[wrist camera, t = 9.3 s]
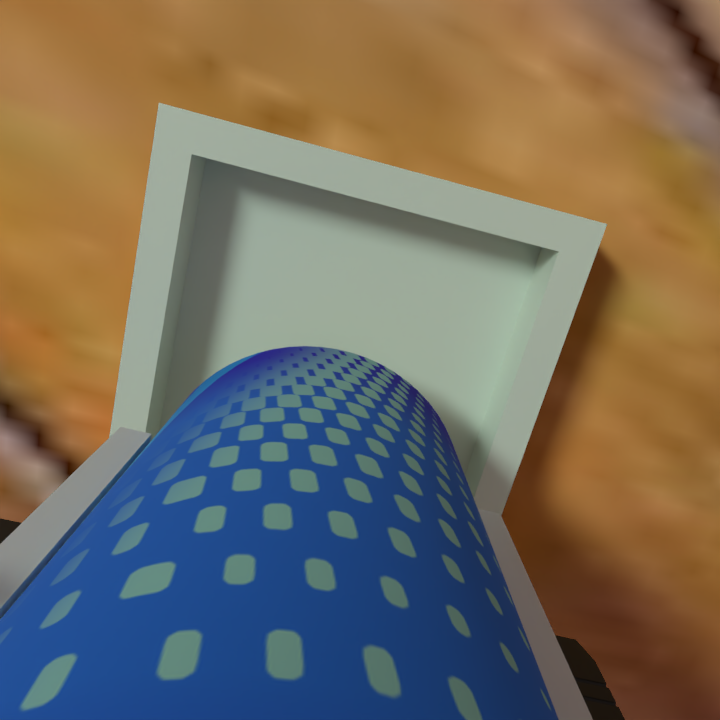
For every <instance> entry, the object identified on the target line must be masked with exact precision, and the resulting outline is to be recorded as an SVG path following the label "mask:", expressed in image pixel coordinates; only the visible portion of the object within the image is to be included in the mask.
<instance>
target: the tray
mask: <svg viewBox="0 0 720 720" xmlns="http://www.w3.org/2000/svg"><path fill="white" fill-rule="evenodd" d="M606 226H607V224H605V223H601V222H597V221H594V220H590V219H586V218H583V217H579V216H575V215H571V214H568V213H564V212H560V211H557V210H553V209H549V208H546V207H542V206H538V205H535V204H531V203H527V202H523V201H520V200H516V199H512V198H509V197H505V196H501V195H498V194H494V193H490V192H487V191H483V190H479V189H475V188H472V187H468V186H464V185H461V184H457V183H453V182H450V181H446V180H442V179H439V178H435V177H431V176H427V175H424V174H420V173H416V172H413V171H409V170H405V169H402V168H398V167H394V166H391V165H387V164H383V163H380V162H376V161H372V160H368V159H365V158H361V157H357V156H354V155H350V154H346V153H343V152H339V151H335V150H332V149H328V148H324V147H320V146H317V145H313V144H309V143H306V142H302V141H298V140H295V139H291V138H287V137H284V136H280V135H276V134H272V133H269V132H265V131H261V130H258V129H254V128H250V127H247V126H243V125H239V124H236V123H232V122H228V121H224V120H221V119H217V118H213V117H210V116H206V115H202V114H199V113H195V112H191V111H188V110H184V109H180V108H176V107H173V106H169V105H165V104H162V103H159V106H158V113H157V120H156V126H155V133H154V140H153V147H152V153H151V160H150V167H149V174H148V180H147V187H146V194H145V201H144V207H143V214H142V221H141V228H140V234H139V241H138V248H137V255H136V261H135V268H134V275H133V281H132V288H131V295H130V302H129V308H128V315H127V322H126V329H125V335H124V342H123V349H122V356H121V362H120V369H119V376H118V383H117V389H116V396H115V403H114V410H113V416H112V423H111V430H110V437H111V436H112V435H113V434H114V433H115V432H116V431H117V430H118V429H119V428H120V427H124V428H128V429H132V430H137V431H141V432H145V433H150V434H151V440H152V439H153V438H154V437H155V436H156V434H157V433H158V432H159V431H160V430H161V428H162V427H163V426H164V425H165V424H166V422H167V421H168V420H169V419H170V418H171V417H172V415H173V414H174V413H175V412H176V411H177V409H178V408H179V407H180V406H181V405H182V404H183V402H184V401H185V400H186V399H187V398H188V397H189V395H190V394H191V393H192V392H193V391H194V390H195V389H196V388H197V387H198V386H199V385H201V384H202V383H203V382H204V381H205V380H206V379H208V378H209V377H210V376H212V375H213V374H215V373H216V372H218V371H219V370H221V369H223V368H224V367H226V366H228V365H229V364H232V363H234V362H236V361H238V360H240V359H242V358H245V357H248V356H250V355H253V354H256V353H259V352H263V351H267V350H271V349H277V348H284V347H293V346H317V347H327V348H334V349H339V350H343V351H347V352H351V353H355V354H357V355H360V356H363V357H366V358H368V359H371V360H373V361H375V362H377V363H379V364H381V365H383V366H385V367H387V368H388V369H390V370H392V371H394V372H395V373H396V374H398V375H399V376H401V377H402V378H403V379H405V380H406V381H407V382H409V383H410V384H411V385H412V386H413V387H414V388H415V389H417V390H418V391H419V392H420V393H421V394H422V396H423V397H424V398H425V399H426V400H427V401H428V402H429V403H430V405H431V406H432V407H433V409H434V410H435V411H436V413H437V414H438V416H439V417H440V419H441V421H442V422H443V424H444V426H445V427H446V430H447V432H448V434H449V436H450V438H451V441H452V443H453V446H454V448H455V451H456V454H457V456H458V459H459V461H460V464H461V467H462V469H463V472H464V474H465V477H466V480H467V482H468V485H469V487H470V490H471V493H472V495H473V498H474V500H475V503H476V506H477V508H478V509H482V510H487V511H491V512H495V513H500V514H501V515H502V512H503V510H504V507H505V504H506V501H507V499H508V496H509V493H510V490H511V488H512V485H513V482H514V479H515V477H516V474H517V471H518V468H519V466H520V463H521V460H522V457H523V454H524V452H525V449H526V446H527V443H528V441H529V438H530V435H531V432H532V430H533V427H534V424H535V421H536V419H537V416H538V413H539V410H540V408H541V405H542V402H543V399H544V397H545V394H546V391H547V388H548V386H549V383H550V380H551V377H552V374H553V372H554V369H555V366H556V363H557V361H558V358H559V355H560V352H561V350H562V347H563V344H564V341H565V339H566V336H567V333H568V330H569V328H570V325H571V322H572V319H573V317H574V314H575V311H576V308H577V306H578V303H579V300H580V297H581V295H582V292H583V289H584V286H585V283H586V281H587V278H588V275H589V272H590V270H591V267H592V264H593V261H594V259H595V256H596V253H597V250H598V248H599V245H600V242H601V239H602V237H603V234H604V231H605V228H606ZM110 437H109V438H110ZM151 440H150V441H151Z"/></svg>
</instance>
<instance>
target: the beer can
mask: <svg viewBox="0 0 720 720" xmlns="http://www.w3.org/2000/svg"><path fill="white" fill-rule="evenodd" d="M0 720H559V719H558V716H557V714H556V711H555V709H554V706H553V703H552V701H551V698H550V696H549V693H548V690H547V688H546V685H545V683H544V680H543V677H542V675H541V672H540V670H539V667H538V664H537V662H536V659H535V657H534V654H533V651H532V649H531V646H530V644H529V641H528V638H527V636H526V633H525V631H524V628H523V625H522V623H521V620H520V618H519V615H518V612H517V610H516V607H515V605H514V602H513V599H512V597H511V594H510V592H509V589H508V586H507V584H506V581H505V579H504V576H503V573H502V571H501V568H500V565H499V563H498V560H497V558H496V555H495V552H494V550H493V547H492V545H491V542H490V539H489V537H488V534H487V532H486V529H485V526H484V524H483V521H482V519H481V516H480V513H479V511H478V508H477V506H476V503H475V500H474V498H473V495H472V493H471V490H470V487H469V485H468V482H467V480H466V477H465V474H464V472H463V469H462V467H461V464H460V461H459V459H458V456H457V454H456V451H455V448H454V446H453V443H452V441H451V438H450V436H449V434H448V432H447V430H446V427H445V426H444V424H443V422H442V421H441V419H440V417H439V416H438V414H437V413H436V411H435V410H434V409H433V407H432V406H431V405H430V403H429V402H428V401H427V400H426V399H425V398H424V397H423V396H422V394H421V393H420V392H419V391H418V390H417V389H415V388H414V387H413V386H412V385H411V384H410V383H409V382H407V381H406V380H405V379H403V378H402V377H401V376H399V375H398V374H396V373H395V372H394V371H392V370H390V369H388V368H387V367H385V366H383V365H381V364H379V363H377V362H375V361H373V360H371V359H368V358H366V357H363V356H360V355H357V354H355V353H351V352H347V351H343V350H339V349H334V348H327V347H317V346H293V347H284V348H277V349H271V350H267V351H263V352H259V353H256V354H253V355H250V356H248V357H245V358H242V359H240V360H238V361H236V362H234V363H232V364H229V365H228V366H226V367H224V368H223V369H221V370H219V371H218V372H216V373H215V374H213V375H212V376H210V377H209V378H208V379H206V380H205V381H204V382H203V383H202V384H201V385H199V386H198V387H197V388H196V389H195V390H194V391H193V392H192V393H191V394H190V395H189V397H188V398H187V399H186V400H185V401H184V402H183V404H182V405H181V406H180V407H179V408H178V409H177V411H176V412H175V413H174V414H173V415H172V417H171V418H170V419H169V420H168V421H167V422H166V424H165V425H164V426H163V427H162V428H161V430H160V431H159V432H158V433H157V434H156V436H155V437H154V438H153V439H152V440H151V441H150V443H149V444H148V445H147V446H146V447H145V449H144V450H143V451H142V452H141V453H140V454H139V456H138V457H137V458H136V459H135V460H134V462H133V463H132V464H131V465H130V466H129V468H128V469H127V470H126V471H125V472H124V473H123V475H122V476H121V477H120V478H119V479H118V481H117V482H116V483H115V484H114V485H113V486H112V488H111V489H110V490H109V491H108V492H107V494H106V495H105V496H104V497H103V498H102V500H101V501H100V502H99V503H98V504H97V505H96V507H95V508H94V509H93V510H92V511H91V513H90V514H89V515H88V516H87V517H86V518H85V520H84V521H83V522H82V523H81V524H80V526H79V527H78V528H77V529H76V530H75V532H74V533H73V534H72V535H71V536H70V537H69V539H68V540H67V541H66V542H65V543H64V545H63V546H62V547H61V548H60V549H59V550H58V552H57V553H56V554H55V555H54V556H53V558H52V559H51V560H50V561H49V562H48V564H47V565H46V566H45V567H44V568H43V569H42V571H41V572H40V573H39V574H38V575H37V577H36V578H35V579H34V580H33V581H32V582H31V584H30V585H29V586H28V587H27V588H26V590H25V591H24V592H23V593H22V594H21V596H20V597H19V598H18V599H17V600H16V601H15V603H14V604H13V605H12V606H11V607H10V609H9V610H8V611H7V612H6V613H5V614H4V616H3V617H2V618H1V619H0Z"/></svg>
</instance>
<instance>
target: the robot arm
mask: <svg viewBox="0 0 720 720" xmlns="http://www.w3.org/2000/svg"><path fill="white" fill-rule="evenodd" d="M150 440H151V434H150V433H145V432H141V431H137V430H132V429H128V428H124V427H120V428H119V429H118V430H117V431H116V432H115V433H114V434H113V435H112V436H111V437H110V438H109V439H108V440H107V441H106V442H105V443H103V444H102V445H101V446H100V447H99V448H98V449H97V450H96V451H95V452H94V453H93V454H92V455H91V456H90V457H89V458H88V459H87V460H86V461H85V462H84V463H83V464H82V465H81V466H80V467H79V468H78V469H77V470H76V471H75V472H74V473H73V474H72V475H71V476H70V477H69V478H68V479H67V480H66V481H64V482H63V483H62V484H61V485H60V486H59V487H58V488H57V489H56V490H55V491H54V492H53V493H52V494H51V495H50V496H49V497H48V498H47V499H46V500H45V501H44V502H43V503H42V504H41V505H40V506H39V507H38V508H37V509H36V510H35V511H34V512H33V513H32V514H31V515H30V516H29V517H28V518H26V519H25V520H24V521H23V522H22V523H19V522H14V521H9V520H5V519H0V619H1V618H2V617H3V616H4V614H5V613H6V612H7V611H8V610H9V609H10V607H11V606H12V605H13V604H14V603H15V601H16V600H17V599H18V598H19V597H20V596H21V594H22V593H23V592H24V591H25V590H26V588H27V587H28V586H29V585H30V584H31V582H32V581H33V580H34V579H35V578H36V577H37V575H38V574H39V573H40V572H41V571H42V569H43V568H44V567H45V566H46V565H47V564H48V562H49V561H50V560H51V559H52V558H53V556H54V555H55V554H56V553H57V552H58V550H59V549H60V548H61V547H62V546H63V545H64V543H65V542H66V541H67V540H68V539H69V537H70V536H71V535H72V534H73V533H74V532H75V530H76V529H77V528H78V527H79V526H80V524H81V523H82V522H83V521H84V520H85V518H86V517H87V516H88V515H89V514H90V513H91V511H92V510H93V509H94V508H95V507H96V505H97V504H98V503H99V502H100V501H101V500H102V498H103V497H104V496H105V495H106V494H107V492H108V491H109V490H110V489H111V488H112V486H113V485H114V484H115V483H116V482H117V481H118V479H119V478H120V477H121V476H122V475H123V473H124V472H125V471H126V470H127V469H128V468H129V466H130V465H131V464H132V463H133V462H134V460H135V459H136V458H137V457H138V456H139V454H140V453H141V452H142V451H143V450H144V449H145V447H146V446H147V445H148V444H149V443H150ZM478 511H479V513H480V516H481V519H482V521H483V524H484V526H485V529H486V532H487V534H488V537H489V539H490V542H491V545H492V547H493V550H494V552H495V555H496V558H497V560H498V563H499V565H500V568H501V571H502V573H503V576H504V579H505V581H506V584H507V586H508V589H509V592H510V594H511V597H512V599H513V602H514V605H515V607H516V610H517V612H518V615H519V618H520V620H521V623H522V625H523V628H524V631H525V633H526V636H527V638H528V641H529V644H530V646H531V649H532V651H533V654H534V657H535V659H536V662H537V664H538V667H539V670H540V672H541V675H542V677H543V680H544V683H545V685H546V688H547V690H548V693H549V696H550V698H551V701H552V703H553V706H554V709H555V711H556V714H557V716H558V719H559V720H625V719H624V717H623V715H622V713H621V711H620V709H619V707H616V702H615V700H614V698H613V696H612V694H611V692H610V690H609V688H606V682H605V680H604V678H603V676H602V674H601V672H600V670H599V668H598V666H597V664H596V662H595V661H594V660H593V659H592V657H591V656H590V655H589V654H588V653H587V652H586V651H585V650H584V649H583V647H582V646H581V645H580V644H579V643H578V642H577V641H576V640H574V639H569V638H565V637H560V636H555V634H554V632H553V630H552V628H551V625H550V623H549V621H548V619H547V616H546V614H545V612H544V610H543V608H542V605H541V603H540V601H539V599H538V596H537V594H536V592H535V590H534V588H533V585H532V583H531V581H530V579H529V576H528V574H527V572H526V570H525V568H524V565H523V563H522V561H521V559H520V556H519V554H518V552H517V550H516V548H515V545H514V543H513V541H512V539H511V537H510V534H509V532H508V530H507V528H506V525H505V523H504V521H503V519H502V517H501V514H500V513H495V512H491V511H487V510H482V509H478Z"/></svg>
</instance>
